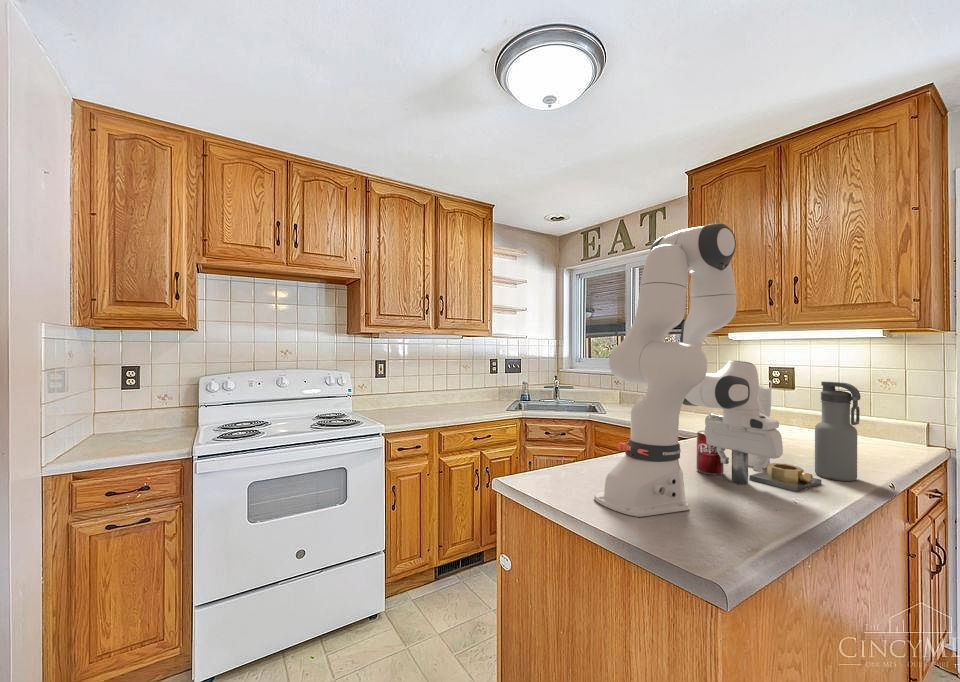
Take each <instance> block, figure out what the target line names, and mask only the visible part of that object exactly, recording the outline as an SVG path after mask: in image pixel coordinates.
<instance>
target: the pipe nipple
mask: <svg viewBox="0 0 960 682" xmlns="http://www.w3.org/2000/svg"><path fill="white" fill-rule="evenodd" d="M731 483H733V484H736V485H737V484H738V485H748V484H749V466H748V453H744V452H741V451H736V450H731Z"/></svg>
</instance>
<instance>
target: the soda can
mask: <svg viewBox="0 0 960 682" xmlns="http://www.w3.org/2000/svg"><path fill="white" fill-rule="evenodd" d="M704 431H705V430H698V431H697V432H696V470H697V471H698V472H699V473H701V474H704V475H709V476H721V475H722V474H724V466H725V465H724V464H723V463H721V457H720V456H719V454H718V452H717V447H715V446H710V445H708V444H707V443H706V436H705V435H704Z"/></svg>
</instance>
